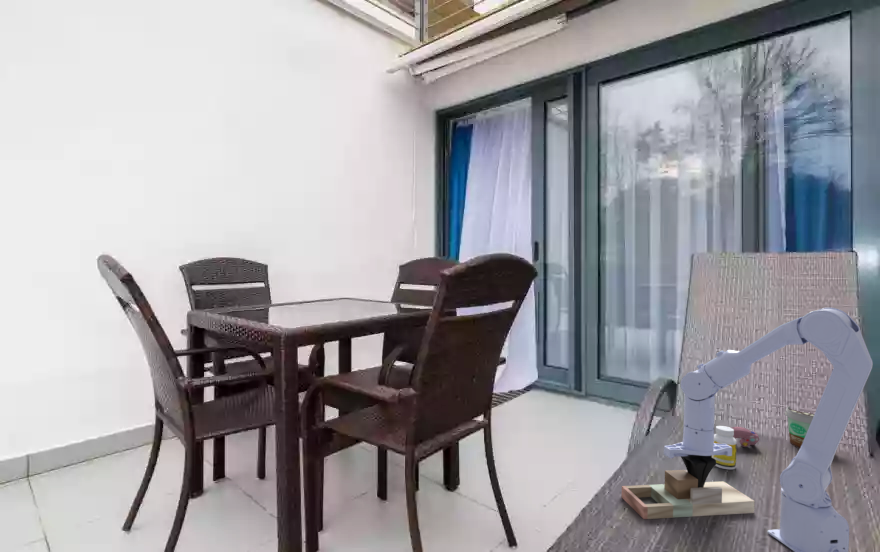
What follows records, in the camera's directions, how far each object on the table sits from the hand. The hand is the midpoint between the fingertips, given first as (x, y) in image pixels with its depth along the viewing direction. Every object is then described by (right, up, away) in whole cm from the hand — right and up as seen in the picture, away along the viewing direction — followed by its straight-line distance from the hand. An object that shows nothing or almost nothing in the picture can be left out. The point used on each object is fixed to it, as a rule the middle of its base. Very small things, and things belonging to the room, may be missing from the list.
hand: (696, 488), depth 96 cm
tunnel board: (-2, -3, 0) cm, 4 cm away
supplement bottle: (+18, -4, +19) cm, 27 cm away
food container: (+50, -4, +32) cm, 59 cm away
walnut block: (-4, -1, 0) cm, 4 cm away
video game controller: (+31, -4, +33) cm, 45 cm away
